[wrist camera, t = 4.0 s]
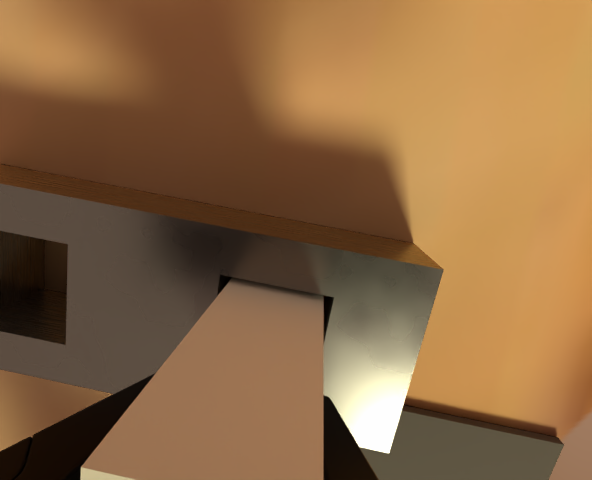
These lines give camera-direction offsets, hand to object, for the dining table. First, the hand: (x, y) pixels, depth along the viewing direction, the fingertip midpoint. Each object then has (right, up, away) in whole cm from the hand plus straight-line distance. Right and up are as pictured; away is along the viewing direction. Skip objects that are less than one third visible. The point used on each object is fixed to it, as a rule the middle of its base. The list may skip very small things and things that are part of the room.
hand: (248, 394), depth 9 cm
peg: (0, +1, +5) cm, 5 cm away
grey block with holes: (-3, +2, +6) cm, 8 cm away
